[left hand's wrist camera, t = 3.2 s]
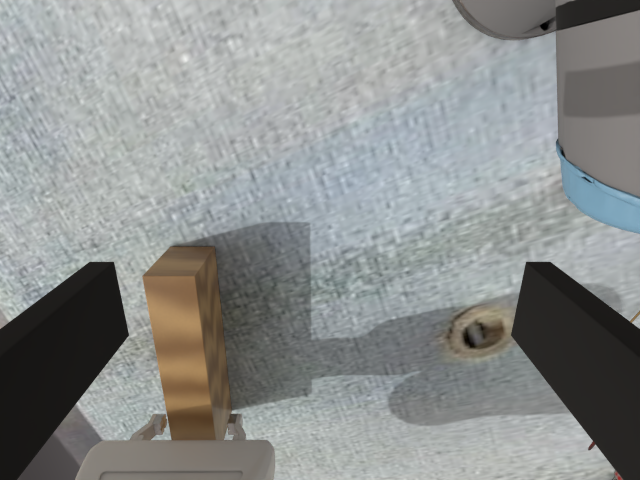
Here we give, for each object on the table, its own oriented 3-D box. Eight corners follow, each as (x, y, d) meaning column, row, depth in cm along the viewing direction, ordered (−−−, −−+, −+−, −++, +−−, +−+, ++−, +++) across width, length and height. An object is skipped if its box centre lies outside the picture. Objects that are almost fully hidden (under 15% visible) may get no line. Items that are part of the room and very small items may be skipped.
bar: (170, 246, 46) (142, 276, 39) (214, 246, 46) (195, 276, 39) (194, 411, 55) (175, 460, 48) (231, 411, 55) (218, 460, 48)
